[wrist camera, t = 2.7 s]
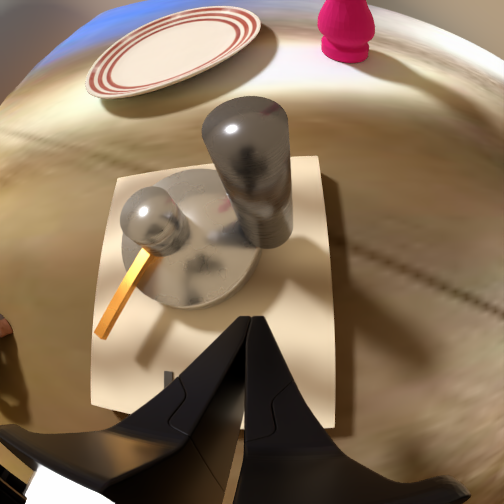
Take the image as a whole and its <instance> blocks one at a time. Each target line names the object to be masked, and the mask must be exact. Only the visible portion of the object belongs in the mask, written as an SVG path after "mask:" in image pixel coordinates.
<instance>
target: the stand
mask: <svg viewBox="0 0 504 504" xmlns="http://www.w3.org/2000/svg"><path fill="white" fill-rule="evenodd" d="M290 161H291V180H292V202H293V231H292V234H291V236H290V237H289V239H288V240H287V241H286V242H285V243H284V244H282V245H281V246H279V247H276V248H272V249H262V253H261V257H260V260H259V263H258V265H257V267H256V269H255V271H254V273H253V275H252V276H251V278H250V279H249V281H248V282H247V283H246V284H245V285H244V286H243V288H242V289H241V290H239V291H238V292H237V293H236V294H235V295H234V296H232V297H231V298H229V299H228V300H226V301H224V302H222V303H220V304H218V305H216V306H213V307H210V308H206V309H201V310H180V309H176V308H172V307H170V306H167V305H165V304H162V303H160V302H158V301H155V300H153V299H151V298H150V297H148V296H146V295H145V294H143V293H142V292H141V291H140V290H139V289H138V288H137V287H136V288H135V289H134V291H133V293H132V294H131V296H130V298H129V300H128V301H127V303H126V305H125V307H124V308H123V310H122V312H121V314H120V315H119V317H118V319H117V321H116V323H115V324H114V326H113V328H112V330H111V332H110V334H109V336H108V337H107V339H106V340H103V339H100V338H99V337H98V336H97V335H96V334H95V333H94V331H95V329H96V327H97V325H98V323H99V321H100V320H101V318H102V316H103V314H104V312H105V310H106V309H107V307H108V305H109V303H110V301H111V300H112V298H113V296H114V294H115V293H116V291H117V289H118V287H119V286H120V284H121V282H122V281H123V279H124V277H125V276H126V274H127V272H126V269H125V267H124V263H123V259H122V248H121V243H122V235H123V231H122V229H121V226H120V215H121V211H122V208H123V206H124V205H125V203H126V201H127V200H128V199H129V198H130V197H131V196H132V195H133V194H134V193H135V192H137V191H139V190H140V189H143V188H145V187H150V186H153V185H154V184H156V183H157V182H159V181H160V180H162V179H164V178H166V177H167V176H170V175H172V174H174V173H177V172H181V171H184V170H189V169H199V168H202V169H212V170H216V168H215V166H214V163H213V164H205V165H197V166H189V167H182V168H175V169H168V170H162V171H156V172H150V173H144V174H138V175H132V176H127V177H122V178H118V179H117V183H116V187H115V191H114V195H113V199H112V204H111V208H110V213H109V217H108V222H107V227H106V232H105V237H104V242H103V248H102V254H101V260H100V267H99V274H98V281H97V289H96V297H95V307H94V318H93V331H92V350H91V404H92V405H96V406H100V407H103V408H107V409H111V410H115V411H119V412H123V413H128V414H132V413H133V412H135V411H136V410H137V409H139V408H140V407H141V406H143V405H144V404H146V403H147V402H148V401H149V400H151V399H152V398H153V397H155V396H156V395H157V394H158V393H160V392H161V391H162V390H163V389H164V388H165V387H166V386H167V385H169V384H170V383H171V382H172V381H173V380H174V379H175V378H176V377H179V374H180V373H181V372H182V371H184V370H185V369H186V368H187V367H188V366H189V365H190V364H191V363H192V362H193V361H194V360H195V359H196V358H197V357H198V356H199V355H200V354H201V353H202V352H203V351H204V350H205V349H206V348H207V347H208V346H209V345H210V344H211V343H212V342H213V341H214V340H215V339H216V338H217V337H218V336H219V335H220V334H221V333H222V332H223V331H224V330H225V329H226V328H227V327H228V326H229V325H230V324H231V323H232V322H233V321H234V320H235V319H236V318H237V317H239V316H251V317H252V316H264V317H265V318H266V320H267V323H268V325H269V327H270V329H271V331H272V333H273V336H274V338H275V340H276V342H277V344H278V346H279V348H280V351H281V353H282V355H283V357H284V359H285V361H286V363H287V366H288V368H289V370H290V372H291V374H292V376H293V378H294V381H295V382H296V384H297V387H298V389H299V391H300V393H301V394H302V396H303V398H304V400H305V402H306V403H307V405H308V407H309V408H310V410H311V411H312V413H313V414H314V416H315V417H316V418H317V420H318V421H319V422H320V424H321V425H322V427H323V428H335V333H334V309H333V292H332V277H331V264H330V252H329V242H328V232H327V222H326V213H325V205H324V197H323V189H322V182H321V174H320V168H319V161H318V156H301V157H290ZM240 429H244V414H243V419H242V423H241V427H240Z"/></svg>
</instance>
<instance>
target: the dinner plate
mask: <svg viewBox="0 0 504 504" xmlns="http://www.w3.org/2000/svg"><path fill="white" fill-rule="evenodd" d="M260 28H261V22H260V20H259V18H258V17H257V16H256V15H255V14H254V13H252V12H250V11H248V10H245V9H242V8H237V7H229V6H211V7H201V8H195V9H190V10H185V11H181V12H178V13H174V14H171V15H168V16H165V17H162V18H159V19H157V20H154V21H152V22H150V23H148V24H145V25H143V26H141V27H139V28H138V29H136V30H134V31H132V32H131V33H129V34H127V35H126V36H124V37H123V38H121V39H120V40H118V41H117V42H116V43H114V44H113V45H112V46H111V47H110V48H108V49H107V50H106V51H105V52H104V53H103V54H102V55H101V56H100V57H99V58H98V59H97V60H96V62H95V63H94V64H93V66H92V67H91V69H90V70H89V72H88V74H87V77H86V81H85V87H86V90H87V92H88V93H89V94H91V95H92V96H95V97H98V98H104V99H116V98H124V97H131V96H136V95H140V94H144V93H148V92H152V91H155V90H158V89H161V88H164V87H167V86H170V85H173V84H176V83H178V82H181V81H183V80H186V79H188V78H191V77H193V76H195V75H197V74H200V73H202V72H204V71H206V70H208V69H210V68H212V67H214V66H216V65H217V64H219V63H221V62H223V61H224V60H226V59H228V58H229V57H231V56H233V55H234V54H236V53H237V52H239V51H240V50H241V49H243V48H244V47H245V46H246V45H248V44H249V43H250V42H251V41H252V40H253V39H254V38H255V37H256V36H257V34H258V32H259V31H260Z"/></svg>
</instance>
